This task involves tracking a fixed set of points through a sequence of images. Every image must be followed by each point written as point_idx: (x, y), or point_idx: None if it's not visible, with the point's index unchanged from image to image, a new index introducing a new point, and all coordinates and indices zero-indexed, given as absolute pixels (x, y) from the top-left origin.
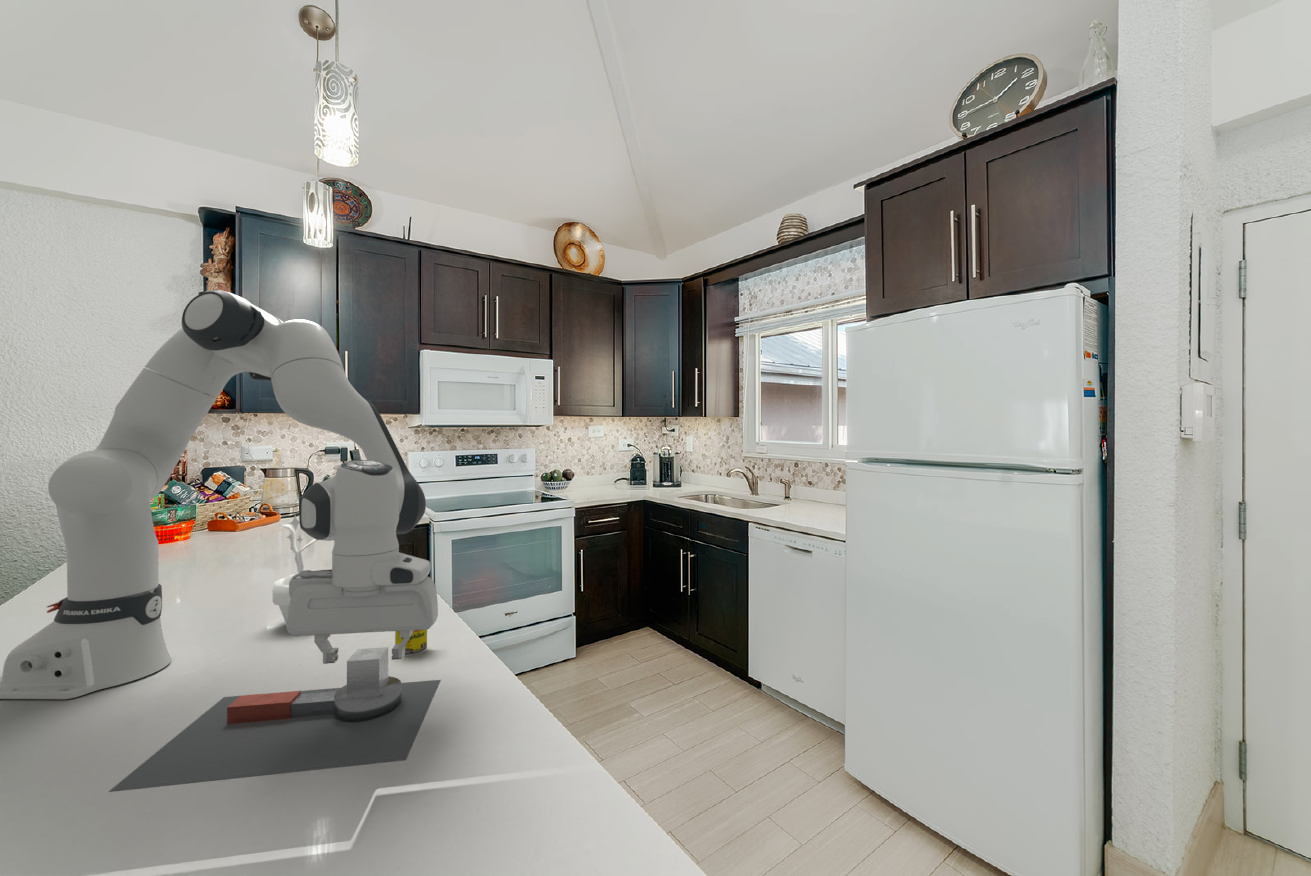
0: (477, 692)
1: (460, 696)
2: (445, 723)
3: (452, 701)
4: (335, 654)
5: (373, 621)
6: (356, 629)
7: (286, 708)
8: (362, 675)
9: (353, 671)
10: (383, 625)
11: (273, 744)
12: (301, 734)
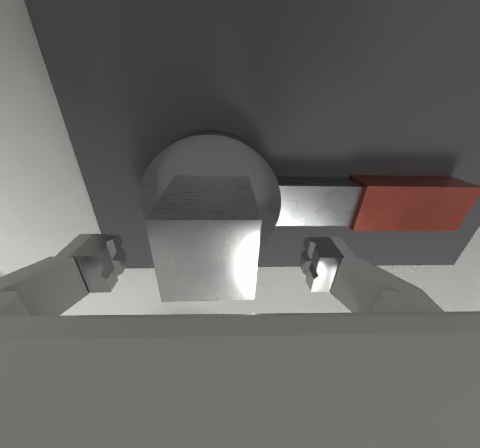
0: (17, 222)
1: (46, 212)
2: (9, 97)
3: (53, 195)
4: (311, 264)
5: (80, 398)
6: (230, 331)
7: (366, 182)
8: (210, 196)
9: (237, 204)
10: (22, 356)
11: (366, 64)
12: (316, 98)
